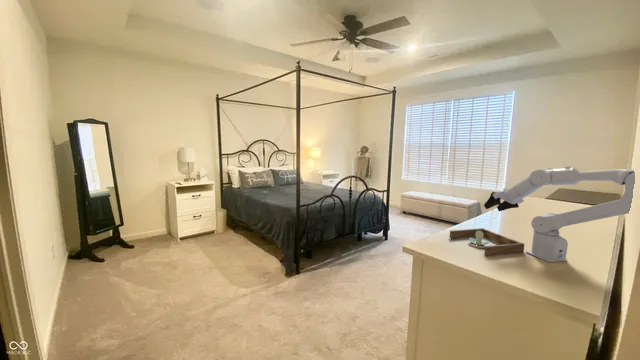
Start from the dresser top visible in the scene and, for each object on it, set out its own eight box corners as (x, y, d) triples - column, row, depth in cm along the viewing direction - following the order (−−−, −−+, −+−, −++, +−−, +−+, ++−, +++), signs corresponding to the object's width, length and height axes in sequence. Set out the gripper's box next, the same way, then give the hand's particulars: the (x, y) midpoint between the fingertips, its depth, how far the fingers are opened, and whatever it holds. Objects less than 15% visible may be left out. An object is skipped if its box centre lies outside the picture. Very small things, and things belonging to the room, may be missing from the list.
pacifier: (484, 250, 107) (490, 246, 111) (485, 235, 106) (491, 231, 110) (465, 245, 112) (471, 241, 116) (466, 230, 111) (471, 227, 115)
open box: (523, 252, 105) (524, 243, 104) (486, 256, 101) (487, 247, 100) (481, 235, 124) (482, 228, 123) (449, 238, 120) (449, 230, 120)
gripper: (527, 185, 112) (499, 202, 122) (502, 179, 107) (475, 197, 117) (536, 199, 108) (507, 216, 118) (510, 194, 103) (482, 212, 113)
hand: (491, 208), depth 117 cm, fingers open, 7 cm apart
